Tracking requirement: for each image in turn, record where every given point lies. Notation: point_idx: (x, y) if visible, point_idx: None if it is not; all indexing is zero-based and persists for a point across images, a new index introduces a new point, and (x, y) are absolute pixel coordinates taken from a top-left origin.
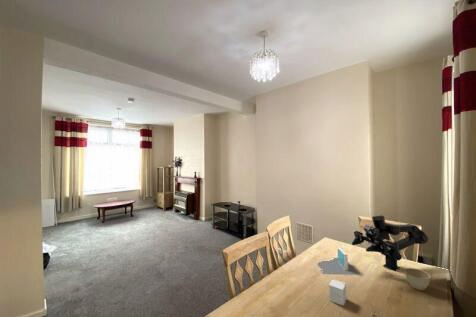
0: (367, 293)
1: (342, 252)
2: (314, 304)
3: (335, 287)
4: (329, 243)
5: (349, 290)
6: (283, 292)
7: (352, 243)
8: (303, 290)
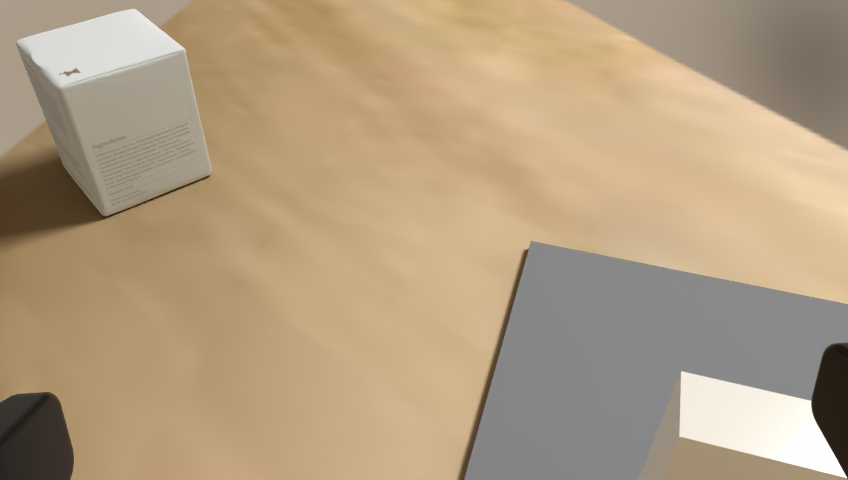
0: None
1: (803, 399)
2: (191, 63)
3: (81, 23)
4: None
5: (176, 308)
6: (366, 5)
7: (828, 346)
8: (344, 67)
